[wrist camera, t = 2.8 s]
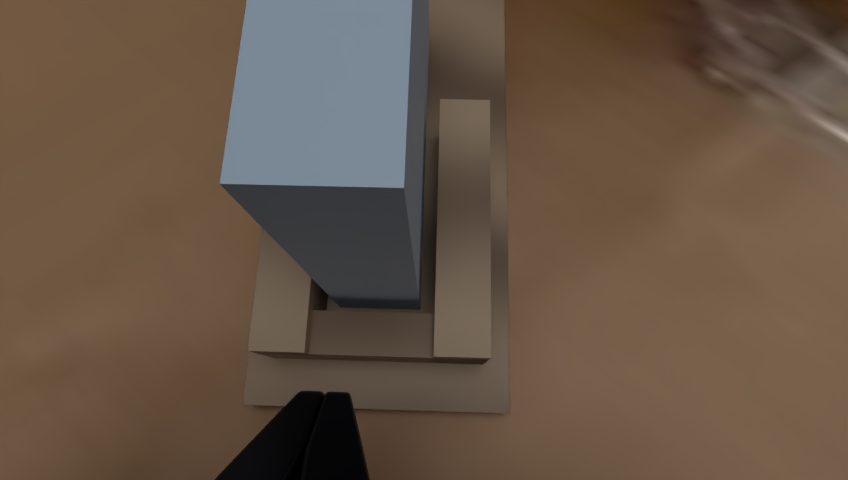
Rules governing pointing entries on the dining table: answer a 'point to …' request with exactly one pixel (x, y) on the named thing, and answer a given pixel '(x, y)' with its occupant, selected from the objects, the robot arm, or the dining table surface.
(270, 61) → the cover plate
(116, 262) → the dining table surface
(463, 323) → the holder
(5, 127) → the dining table surface
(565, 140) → the dining table surface
